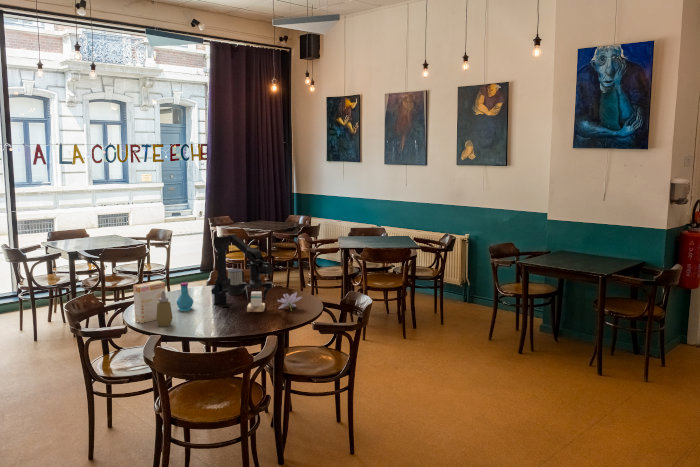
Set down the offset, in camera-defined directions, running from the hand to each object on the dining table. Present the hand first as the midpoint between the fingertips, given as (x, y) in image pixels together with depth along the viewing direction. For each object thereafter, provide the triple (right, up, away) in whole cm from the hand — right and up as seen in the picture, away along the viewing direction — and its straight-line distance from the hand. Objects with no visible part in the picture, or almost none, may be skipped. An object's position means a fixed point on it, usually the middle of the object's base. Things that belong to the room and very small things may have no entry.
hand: (255, 300), depth 339 cm
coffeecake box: (-53, -8, -17) cm, 56 cm away
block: (0, -6, +1) cm, 6 cm away
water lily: (+19, -5, +2) cm, 20 cm away
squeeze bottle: (-42, -10, -28) cm, 52 cm away
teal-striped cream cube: (0, -3, 0) cm, 3 cm away
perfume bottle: (-40, -5, +2) cm, 41 cm away
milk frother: (-22, 0, +41) cm, 47 cm away
